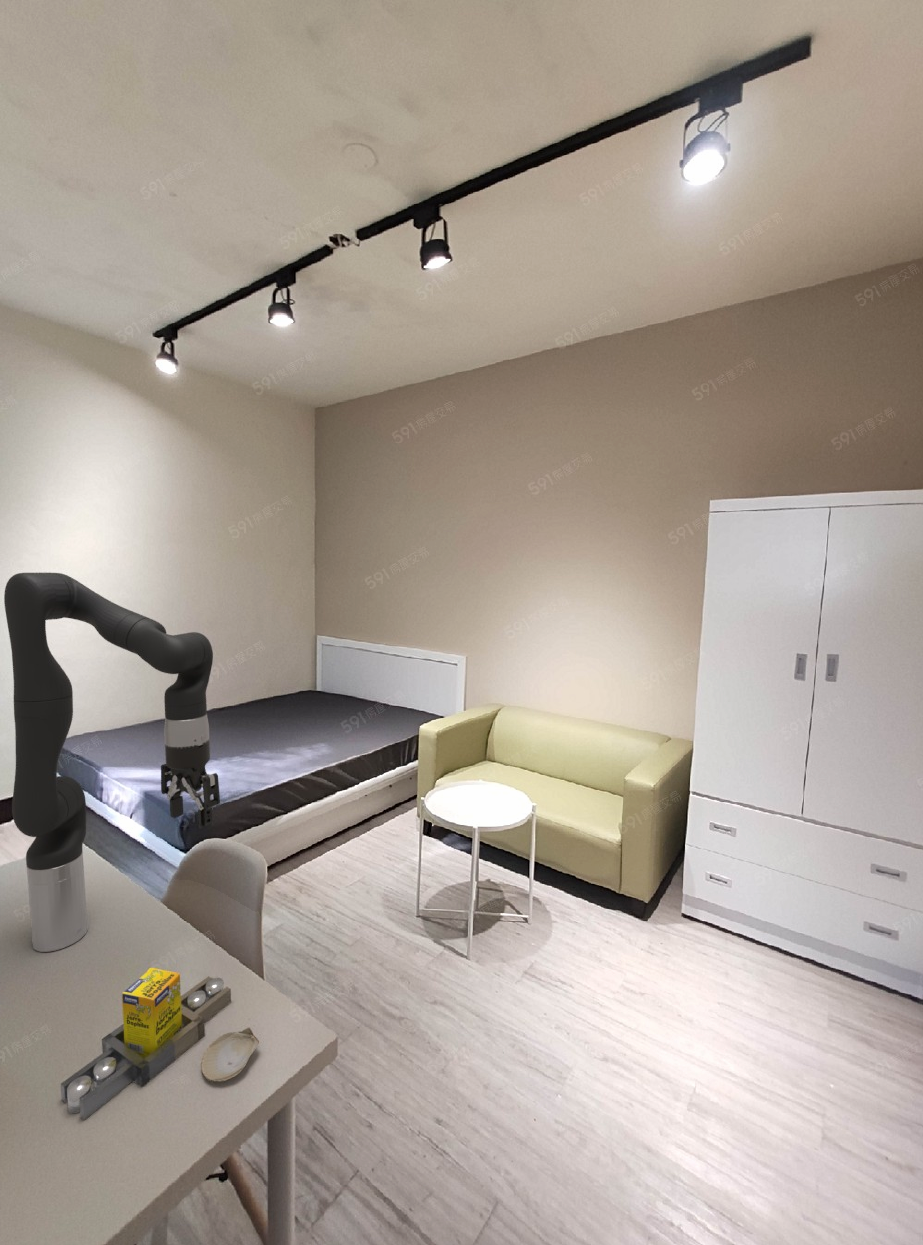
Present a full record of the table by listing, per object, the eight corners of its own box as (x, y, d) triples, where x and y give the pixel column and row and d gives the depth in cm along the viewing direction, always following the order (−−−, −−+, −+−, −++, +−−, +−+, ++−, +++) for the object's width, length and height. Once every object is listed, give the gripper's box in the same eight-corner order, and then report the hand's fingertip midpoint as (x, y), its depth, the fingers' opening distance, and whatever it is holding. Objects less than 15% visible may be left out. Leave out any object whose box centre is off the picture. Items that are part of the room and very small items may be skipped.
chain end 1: (50, 1094, 80) (49, 1076, 80) (136, 1032, 91) (135, 1015, 90) (89, 1130, 75) (88, 1110, 75) (175, 1059, 86) (174, 1042, 85)
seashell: (200, 1071, 86) (211, 1098, 80) (194, 1052, 86) (205, 1078, 80) (252, 1035, 91) (267, 1058, 85) (247, 1018, 91) (261, 1040, 84)
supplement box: (156, 1065, 85) (153, 1000, 84) (124, 1058, 86) (120, 993, 85) (184, 1034, 90) (181, 972, 89) (153, 1027, 92) (149, 966, 91)
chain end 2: (136, 1032, 91) (135, 1015, 90) (203, 983, 101) (202, 967, 101) (175, 1059, 86) (174, 1042, 85) (241, 1005, 96) (240, 989, 96)
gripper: (145, 738, 104) (149, 820, 105) (193, 751, 97) (197, 839, 98) (182, 728, 110) (185, 806, 112) (229, 739, 103) (232, 822, 105)
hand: (191, 821), depth 105 cm, fingers open, 8 cm apart
